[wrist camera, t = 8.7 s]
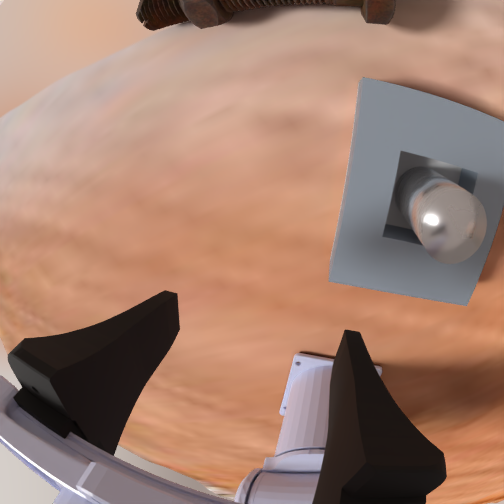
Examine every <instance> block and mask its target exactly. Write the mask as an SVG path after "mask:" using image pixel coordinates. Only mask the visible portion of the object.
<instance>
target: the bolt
mask: <svg viewBox="0 0 504 504" xmlns="http://www.w3.org/2000/svg"><path fill="white" fill-rule="evenodd" d="M300 2H301V3H302V4H303V5H305V4H306V2H307V3H308V4H311V3H312V2H313V3H314V4H317V3H318V2H319V3H320V4H323V2H325V3H326V4H333V5H336V6H360V7H361V14H362V16H363V18H364V19H365V21H366V23H373V24H385V25H386V24H388V23H389V22H390V21H391V19H392V17H393V14H394V11H395V0H140V2H139V5H138V9H137V12H136V16H137V18H138V20H139V21H140V22H141V23H143V22H144V25H143V26H145V27H146V28H147V29H149V30H153V31H154V30H157V29H161V28H164V27H166V26H170V25H174V24H178V23H183V22H186V21H189V20H190V22H192V23H193V24H194V25H196V26H197V27H199V28H201V29H202V28H207V27H213V26H218V25H220V24H223V23H225V22H227V21H229V20H230V19H231V18H232V15H233V12H234V11H236V12H237V11H238V10H240V11H243V10H244V9H245V10H248V9H249V8H251V9H254V8H255V7H256V8H260V7H263V8H264V7H266V5H267V6H268V7H271V6H272V5H273V6H274V7H276V6H277V5H279V6H282V5H283V4H284V5H286V6H288V4H291V5H294V3H296V4H297V5H299V4H300ZM144 20H145V21H144Z"/></svg>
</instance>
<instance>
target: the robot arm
mask: <svg viewBox="0 0 504 504" xmlns="http://www.w3.org/2000/svg"><path fill="white" fill-rule="evenodd" d="M179 330H180V325H179V311H178V296H177V293H173V292H169V291H163V292H161V293H159V294H157V295H155V296H153V297H151V298H150V299H148V300H146V301H144V302H142V303H140V304H138V305H137V306H135V307H133V308H131V309H129V310H127V311H125V312H123V313H121V314H119V315H117V316H114V317H112V318H110V319H108V320H106V321H103V322H101V323H98V324H95V325H92V326H90V327H87V328H83V329H80V330H76V331H72V332H69V333H64V334H59V335H53V336H47V337H37V338H25V339H24V340H23V341H21V342H20V343H19V344H18V345H17V346H16V347H15V348H14V349H13V350H12V351H11V352H10V353H9V354H8V362H9V364H10V366H11V368H12V370H13V372H14V374H15V375H16V377H17V379H18V381H19V382H20V384H21V385H22V388H21V389H20V390H19V391H18V389H17V388H16V387H15V386H14V385H12V384H11V383H10V382H9V381H7V380H6V379H5V378H4V377H3V376H0V442H1V443H2V444H3V445H4V446H5V447H6V448H7V449H8V450H9V451H10V452H12V453H13V454H14V455H15V456H16V457H17V458H18V459H19V460H21V461H22V462H23V463H24V464H25V465H27V466H28V467H29V468H30V469H31V470H33V471H34V472H35V473H36V474H38V475H39V476H40V477H42V478H43V479H44V480H45V481H46V482H48V483H49V484H50V485H52V486H53V487H55V488H56V489H57V490H59V491H60V493H59V494H58V496H57V497H56V499H55V500H54V502H53V504H426V495H427V494H429V493H430V492H431V491H433V490H434V489H436V488H437V487H438V486H440V485H441V484H442V483H443V482H444V481H445V479H446V477H447V475H446V464H445V458H444V453H443V452H442V451H441V450H439V449H438V448H437V447H436V446H435V445H434V444H432V443H431V442H430V441H429V440H428V439H427V438H426V437H425V436H424V435H423V434H422V433H421V432H420V431H419V430H418V429H417V428H416V427H415V426H414V425H413V424H412V423H411V422H410V420H409V419H408V418H407V417H406V416H405V414H404V413H403V412H402V411H401V409H400V408H399V407H398V405H397V404H396V403H395V401H394V400H393V398H392V397H391V395H390V393H389V392H388V390H387V388H386V387H385V385H384V383H383V381H382V380H381V378H380V376H381V374H382V367H380V366H375V365H374V364H373V362H372V360H371V357H370V355H369V353H368V351H367V348H366V346H365V343H364V341H363V339H362V336H361V334H360V332H357V331H351V330H345V331H344V334H343V337H342V340H341V343H340V345H339V348H338V351H337V354H336V357H335V359H330V358H325V357H319V356H314V355H308V354H303V353H297V354H295V355H294V359H293V363H292V367H291V371H290V375H289V378H288V382H287V386H286V390H285V393H284V397H283V401H282V404H281V408H280V414H281V415H284V419H283V424H282V428H281V432H280V436H279V440H278V444H277V448H276V452H275V455H274V457H266V459H265V462H264V465H263V468H257V469H254V470H252V471H251V472H250V473H249V474H248V475H247V476H246V477H245V478H244V479H243V481H242V482H241V484H240V485H239V488H238V490H237V493H236V496H235V500H234V501H230V500H227V499H223V498H219V497H216V496H213V495H209V494H206V493H203V492H200V491H197V490H194V489H191V488H188V487H185V486H182V485H179V484H177V483H174V482H171V481H169V480H166V479H163V478H161V477H158V476H156V475H154V474H151V473H149V472H147V471H144V470H142V469H140V468H138V467H135V466H133V465H131V464H129V463H127V462H125V461H123V460H121V459H119V458H116V457H115V456H114V453H115V450H116V448H117V445H118V442H119V440H120V437H121V434H122V432H123V430H124V427H125V425H126V423H127V420H128V418H129V416H130V414H131V412H132V409H133V407H134V405H135V403H136V401H137V399H138V397H139V395H140V393H141V392H142V390H143V388H144V386H145V385H146V383H147V381H148V380H149V379H150V377H151V376H152V374H153V373H154V371H155V370H156V368H157V367H158V366H159V364H160V363H161V361H162V360H163V358H164V357H165V355H166V354H167V352H168V351H169V349H170V348H171V346H172V344H173V342H174V340H175V338H176V336H177V334H178V332H179ZM298 362H300V363H298Z"/></svg>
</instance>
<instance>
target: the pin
mask: <svg viewBox="0 0 504 504" xmlns="http://www.w3.org/2000/svg"><path fill="white" fill-rule="evenodd" d="M395 202H396V205H397V207H398V209H399V211H400V212H401V214H402V215H403V216H404V218H405V219H406V221H407V222H408V224H409V225H410V226H411V228H412V229H413V231H414V232H415V234H416V235H417V237H418V238H419V240H420V241H421V243H422V244H423V246H424V247H425V249H426V250H427V252H428V253H429V255H430V256H431V257H432V258H434V259H435V260H437V261H439V262H441V263H445V264H455V263H459V262H462V261H464V260H466V259H468V258H469V257H471V256H472V255H473V254H474V253H475V252H476V251H477V250H478V248H479V247H480V245H481V244H482V241H483V239H484V237H485V233H486V228H487V218H486V213H485V210H484V207H483V205H482V203H481V202H480V201H479V200H478V199H477V198H476V197H475V196H474V195H473V194H471V193H470V192H468V191H467V190H465V189H463V188H462V187H460V186H459V185H457V184H455V183H454V182H452V181H451V180H449V179H447V178H446V177H444V176H442V175H441V174H439V173H437V172H436V171H434V170H432V169H430V168H427V167H422V166H419V167H414V168H411V169H409V170H407V171H406V172H405V173H403V175H402V176H401V177H400V178H399V180H398V182H397V184H396V188H395Z"/></svg>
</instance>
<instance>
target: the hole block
mask: <svg viewBox="0 0 504 504" xmlns="http://www.w3.org/2000/svg"><path fill="white" fill-rule="evenodd" d="M419 166H422V167H427V168H430V169H432V170H434V171H436V172H437V173H439V174H441V175H442V176H444V177H446V178H447V179H449V180H451V181H452V182H454V183H455V184H457V185H459V186H460V187H462V188H463V189H465V190H467V191H468V192H470V193H471V194H473V195H474V196H475V197H476V198H477V199H478V200H479V201H480V202H481V203H482V205H483V207H484V210H485V213H486V218H487V228H486V233H485V237H484V239H483V241H482V244H481V245H480V247H479V248H478V250H477V251H476V252H475V253H474V254H473V255H472V256H471V257H469V258H468V259H466V260H464V261H462V262H459V263H455V264H445V263H441V262H439V261H437V260H435V259H434V258H432V257H431V256H430V255H429V253H428V252H427V250H426V249H425V247H424V246H423V244H422V243H421V241H420V240H419V238H418V237H417V235H416V234H415V232H414V231H413V229H412V228H411V226H410V225H409V224H408V222H407V221H406V219H405V218H404V216H403V215H402V214H401V212H400V211H399V209H398V207H397V205H396V202H395V188H396V184H397V182H398V180H399V178H400V177H401V176H402V175H403V173H405V172H406V171H407V170H409V169H411V168H414V167H419ZM503 207H504V121H502V120H499V119H497V118H495V117H492V116H490V115H488V114H485V113H483V112H480V111H478V110H475V109H473V108H470V107H467V106H465V105H462V104H459V103H456V102H453V101H451V100H448V99H445V98H442V97H438V96H435V95H432V94H429V93H425V92H422V91H419V90H415V89H411V88H408V87H404V86H400V85H396V84H392V83H388V82H383V81H379V80H374V79H370V78H365V77H363V78H362V79H361V80H360V82H359V83H358V91H357V100H356V109H355V117H354V125H353V132H352V140H351V147H350V153H349V160H348V166H347V173H346V179H345V185H344V190H343V196H342V202H341V207H340V213H339V218H338V223H337V228H336V233H335V238H334V243H333V248H332V252H331V257H330V268H329V282H334V283H340V284H345V285H350V286H356V287H361V288H367V289H372V290H378V291H383V292H389V293H394V294H400V295H406V296H411V297H417V298H423V299H428V300H434V301H440V302H446V303H452V304H457V305H463V306H467V304H468V302H469V300H470V298H471V296H472V293H473V291H474V289H475V286H476V284H477V282H478V279H479V277H480V274H481V272H482V269H483V267H484V264H485V262H486V259H487V256H488V254H489V251H490V248H491V245H492V242H493V239H494V236H495V233H496V230H497V227H498V224H499V221H500V217H501V214H502V210H503Z"/></svg>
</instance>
